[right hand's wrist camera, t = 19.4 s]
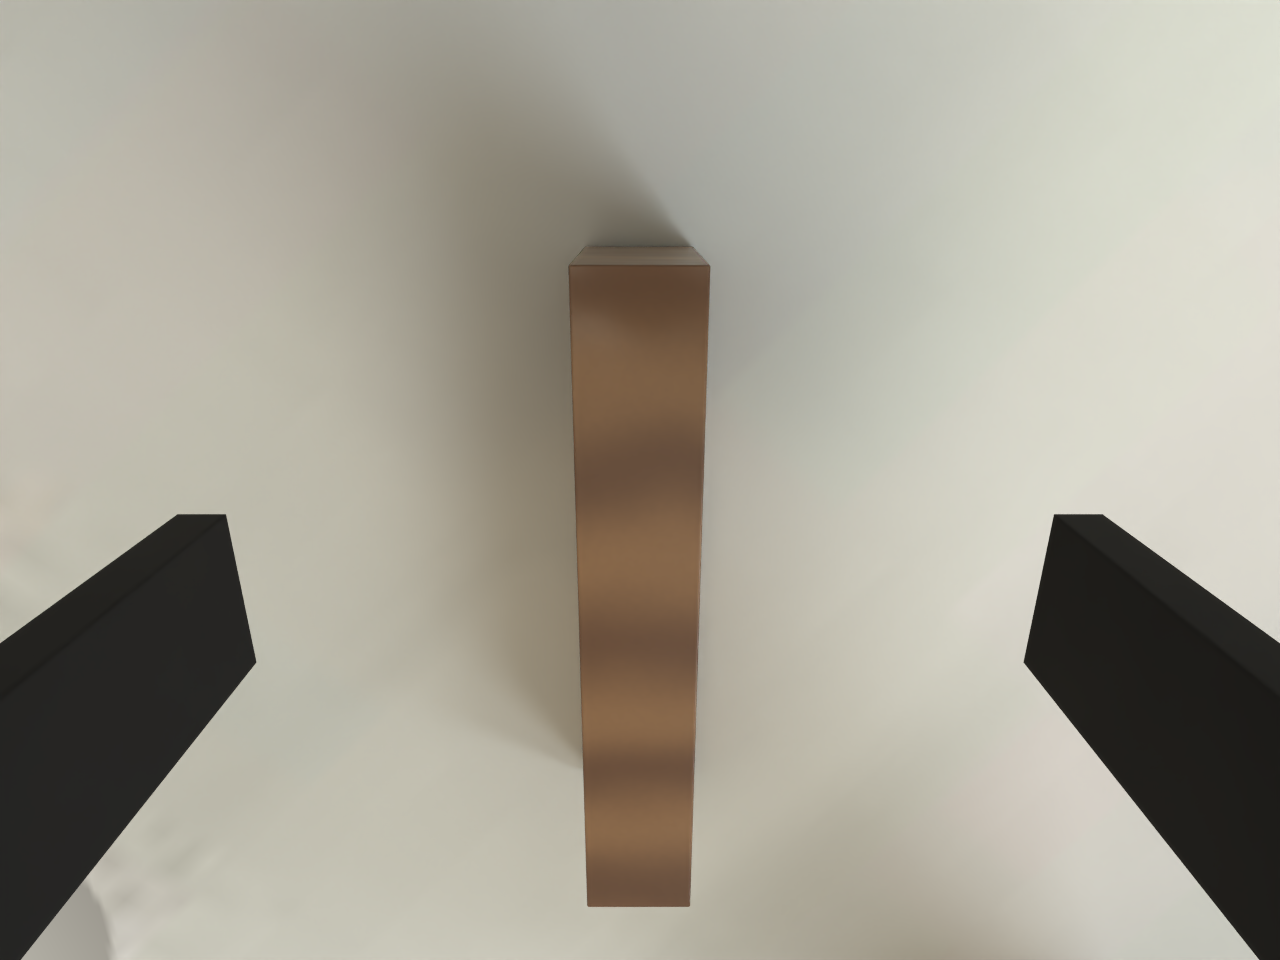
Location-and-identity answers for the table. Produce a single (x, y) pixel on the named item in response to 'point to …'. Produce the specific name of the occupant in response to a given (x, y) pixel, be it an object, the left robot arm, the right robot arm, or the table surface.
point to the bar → (639, 560)
